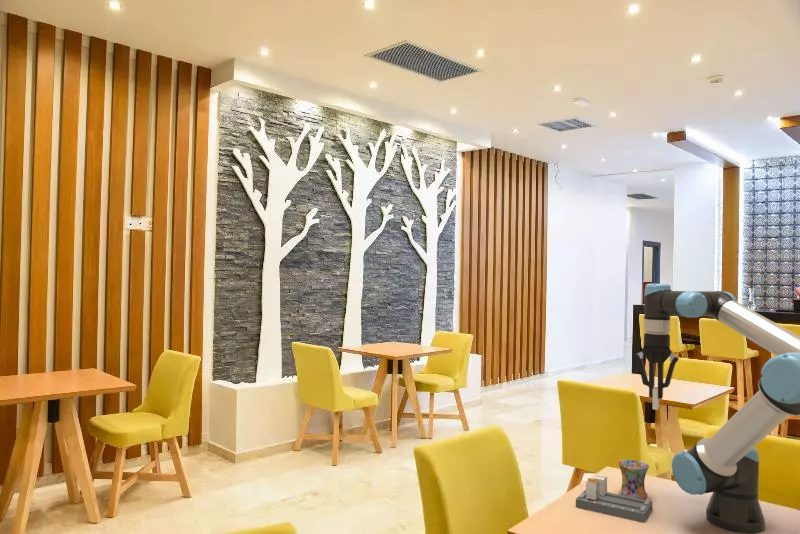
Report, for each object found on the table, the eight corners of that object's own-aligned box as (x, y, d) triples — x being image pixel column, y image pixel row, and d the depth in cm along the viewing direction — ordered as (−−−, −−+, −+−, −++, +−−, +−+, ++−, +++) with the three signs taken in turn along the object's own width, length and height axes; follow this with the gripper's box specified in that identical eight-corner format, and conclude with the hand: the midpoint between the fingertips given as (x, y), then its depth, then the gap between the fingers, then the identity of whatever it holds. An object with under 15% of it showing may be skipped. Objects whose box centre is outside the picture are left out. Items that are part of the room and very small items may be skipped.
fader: (599, 496, 190) (599, 478, 190) (596, 500, 187) (596, 482, 187) (589, 494, 192) (589, 476, 192) (585, 498, 188) (586, 479, 188)
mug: (652, 502, 193) (653, 469, 193) (622, 501, 194) (623, 468, 194) (640, 489, 205) (640, 457, 205) (612, 488, 206) (612, 456, 206)
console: (652, 509, 188) (652, 482, 188) (644, 522, 178) (644, 494, 178) (586, 495, 198) (587, 470, 199) (575, 507, 188) (576, 480, 188)
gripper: (681, 333, 190) (680, 409, 190) (637, 330, 197) (636, 403, 197) (677, 335, 184) (676, 414, 184) (632, 332, 191) (631, 408, 191)
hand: (655, 408), depth 190 cm, fingers closed
